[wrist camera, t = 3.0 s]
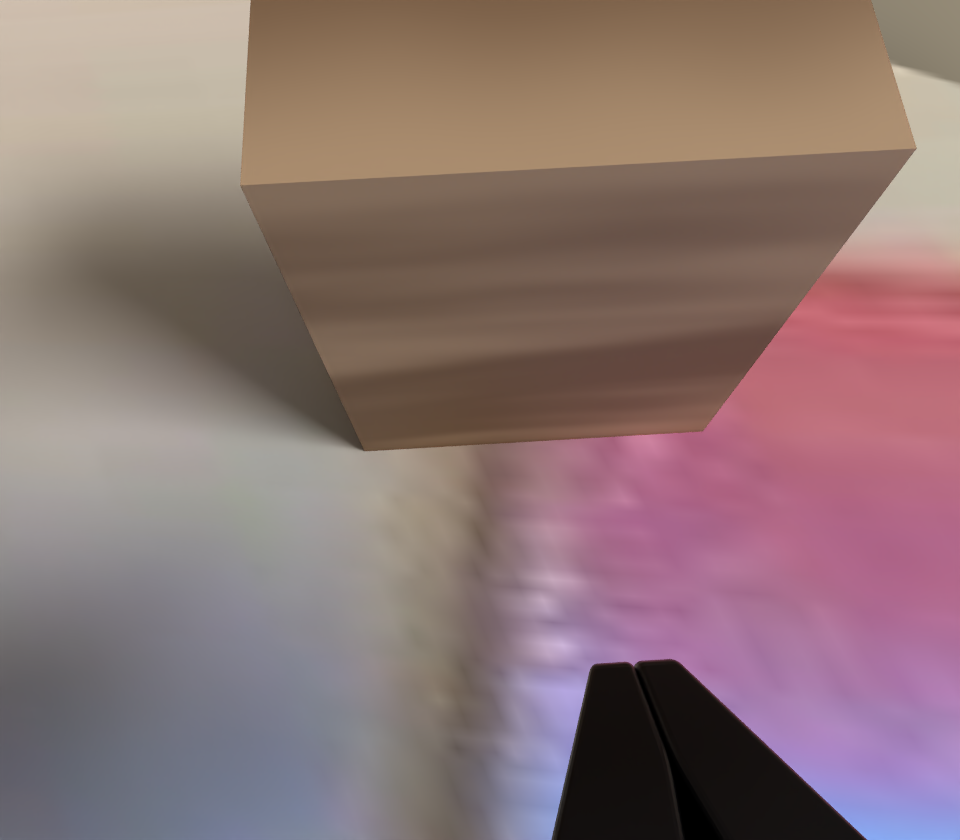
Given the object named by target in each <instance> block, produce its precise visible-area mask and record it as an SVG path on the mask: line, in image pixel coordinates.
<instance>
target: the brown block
mask: <svg viewBox="0 0 960 840" xmlns="http://www.w3.org/2000/svg"><path fill="white" fill-rule="evenodd" d="M916 149H917V148H916V145H915V142H914V139H913V135H912V132H911V129H910V126H909V122H908V119H907V116H906V113H905V109H904V106H903V103H902V100H901V96H900V93H899V90H898V86H897V83H896V80H895V77H894V73H893V70H892V67H891V64H890V60H889V57H888V54H887V51H886V47H885V44H884V41H883V38H882V34H881V31H880V28H879V25H878V21H877V18H876V15H875V12H874V8H873V5H872V2H871V0H251V5H250V23H249V41H248V58H247V76H246V94H245V112H244V130H243V147H242V165H241V183H240V186H241V188H242V190H243V192H244V194H245V196H246V199H247V201H248V203H249V205H250V207H251V209H252V211H253V214H254V216H255V218H256V220H257V222H258V224H259V226H260V229H261V231H262V233H263V235H264V237H265V239H266V241H267V244H268V246H269V248H270V250H271V252H272V254H273V256H274V259H275V261H276V263H277V265H278V267H279V269H280V271H281V273H282V276H283V278H284V280H285V282H286V284H287V286H288V288H289V291H290V293H291V295H292V297H293V299H294V301H295V303H296V306H297V308H298V310H299V312H300V314H301V316H302V318H303V321H304V323H305V325H306V327H307V329H308V331H309V333H310V336H311V338H312V340H313V342H314V344H315V346H316V348H317V351H318V353H319V355H320V357H321V359H322V361H323V363H324V366H325V368H326V370H327V372H328V374H329V376H330V378H331V381H332V383H333V385H334V387H335V389H336V391H337V393H338V395H339V398H340V400H341V402H342V404H343V406H344V408H345V410H346V413H347V415H348V417H349V419H350V421H351V423H352V425H353V428H354V430H355V432H356V434H357V436H358V438H359V440H360V443H361V445H362V447H363V449H364V451H377V450H394V449H411V448H428V447H445V446H462V445H479V444H496V443H513V442H530V441H547V440H564V439H581V438H598V437H615V436H632V435H649V434H666V433H683V432H700V431H703V430H704V429H705V428H706V426H707V425H708V424H709V422H710V421H711V420H712V418H713V417H714V416H715V414H716V413H717V412H718V410H719V409H720V408H721V407H722V405H723V404H724V403H725V401H726V400H727V399H728V397H729V396H730V395H731V393H732V392H733V391H734V389H735V388H736V387H737V385H738V384H739V383H740V381H741V380H742V379H743V377H744V376H745V375H746V373H747V372H748V371H749V369H750V368H751V367H752V365H753V364H754V363H755V362H756V360H757V359H758V358H759V356H760V355H761V354H762V352H763V351H764V350H765V348H766V347H767V346H768V344H769V343H770V342H771V340H772V339H773V338H774V336H775V335H776V334H777V332H778V331H779V330H780V328H781V327H782V326H783V324H784V323H785V322H786V321H787V319H788V318H789V317H790V315H791V314H792V313H793V311H794V310H795V309H796V307H797V306H798V305H799V303H800V302H801V301H802V299H803V298H804V297H805V295H806V294H807V293H808V291H809V290H810V289H811V287H812V286H813V285H814V283H815V282H816V281H817V279H818V278H819V277H820V276H821V274H822V273H823V272H824V270H825V269H826V268H827V266H828V265H829V264H830V262H831V261H832V260H833V258H834V257H835V256H836V254H837V253H838V252H839V250H840V249H841V248H842V246H843V245H844V244H845V242H846V241H847V240H848V238H849V237H850V236H851V235H852V233H853V232H854V231H855V229H856V228H857V227H858V225H859V224H860V223H861V221H862V220H863V219H864V217H865V216H866V215H867V213H868V212H869V211H870V209H871V208H872V207H873V205H874V204H875V203H876V201H877V200H878V199H879V197H880V196H881V195H882V193H883V192H884V191H885V190H886V188H887V187H888V186H889V184H890V183H891V182H892V180H893V179H894V178H895V176H896V175H897V174H898V172H899V171H900V170H901V168H902V167H903V166H904V164H905V163H906V162H907V160H908V159H909V158H910V156H911V155H912V154H913V152H914V151H915V150H916Z"/></svg>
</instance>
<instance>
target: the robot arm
mask: <svg viewBox="0 0 960 840" xmlns="http://www.w3.org/2000/svg"><path fill="white" fill-rule="evenodd" d="M552 840H867V839H866V838H864V837H863V836H862V835H861V834H860V833H859V832H858V831H857V830H856V829H855V828H854V827H853V826H852V825H851V824H850V823H849V822H848V821H847V820H845V819H844V818H843V817H842V816H841V815H840V814H839V813H838V812H837V811H836V810H835V809H834V808H833V807H832V806H831V805H830V804H829V803H828V802H826V801H825V800H824V799H823V798H822V797H821V796H820V795H819V794H818V793H817V792H816V791H815V790H814V789H813V788H812V787H811V786H810V785H808V784H807V783H806V782H805V781H804V780H803V779H802V778H801V777H800V776H799V775H798V774H797V773H796V772H795V771H794V770H793V769H792V768H791V767H789V766H788V765H787V764H786V763H785V762H784V761H783V760H782V759H781V758H780V757H779V756H778V755H777V754H776V753H775V752H774V751H773V750H772V749H770V748H769V747H768V746H767V745H766V744H765V743H764V742H763V741H762V740H761V739H760V738H759V737H758V736H757V735H756V734H755V733H754V732H752V731H751V730H750V729H749V728H748V727H747V726H746V725H745V724H744V723H743V722H742V721H741V720H740V719H739V718H738V717H737V716H736V715H735V714H733V713H732V712H731V711H730V710H729V709H728V708H727V707H726V706H725V705H724V704H723V703H722V702H721V701H720V700H719V699H718V698H717V697H716V696H714V695H713V694H712V693H711V692H710V691H709V690H708V689H707V688H706V687H705V686H704V685H703V684H702V683H701V682H700V681H699V680H698V679H697V678H695V677H694V676H693V675H692V674H691V673H690V672H689V671H688V670H687V669H686V668H685V667H684V666H683V665H682V664H680V663H679V662H677V661H675V660H672V659H664V660H648V661H639V662H638V663H636V664H635V665H634V667H633V665H632V664H630V663H628V662H616V663H600V664H594V665H593V666H592V667H591V669H590V672H589V676H588V681H587V685H586V689H585V694H584V698H583V703H582V707H581V712H580V716H579V720H578V725H577V729H576V734H575V738H574V743H573V747H572V751H571V756H570V760H569V765H568V769H567V774H566V778H565V782H564V787H563V791H562V796H561V800H560V804H559V809H558V813H557V818H556V822H555V827H554V831H553V835H552Z"/></svg>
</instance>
